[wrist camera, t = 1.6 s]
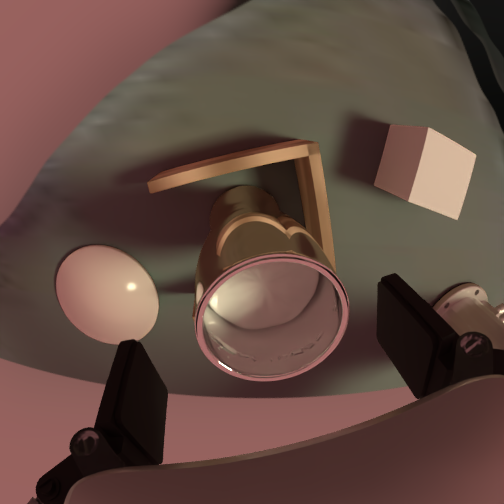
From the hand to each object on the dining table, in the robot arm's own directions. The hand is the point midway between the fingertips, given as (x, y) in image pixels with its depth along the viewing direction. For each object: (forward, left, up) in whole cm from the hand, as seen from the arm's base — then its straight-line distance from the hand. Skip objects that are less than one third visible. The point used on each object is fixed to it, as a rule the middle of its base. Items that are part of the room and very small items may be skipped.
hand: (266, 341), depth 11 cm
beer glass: (0, 0, -16) cm, 16 cm away
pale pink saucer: (+15, +4, -16) cm, 22 cm away
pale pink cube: (-16, -2, -17) cm, 23 cm away
